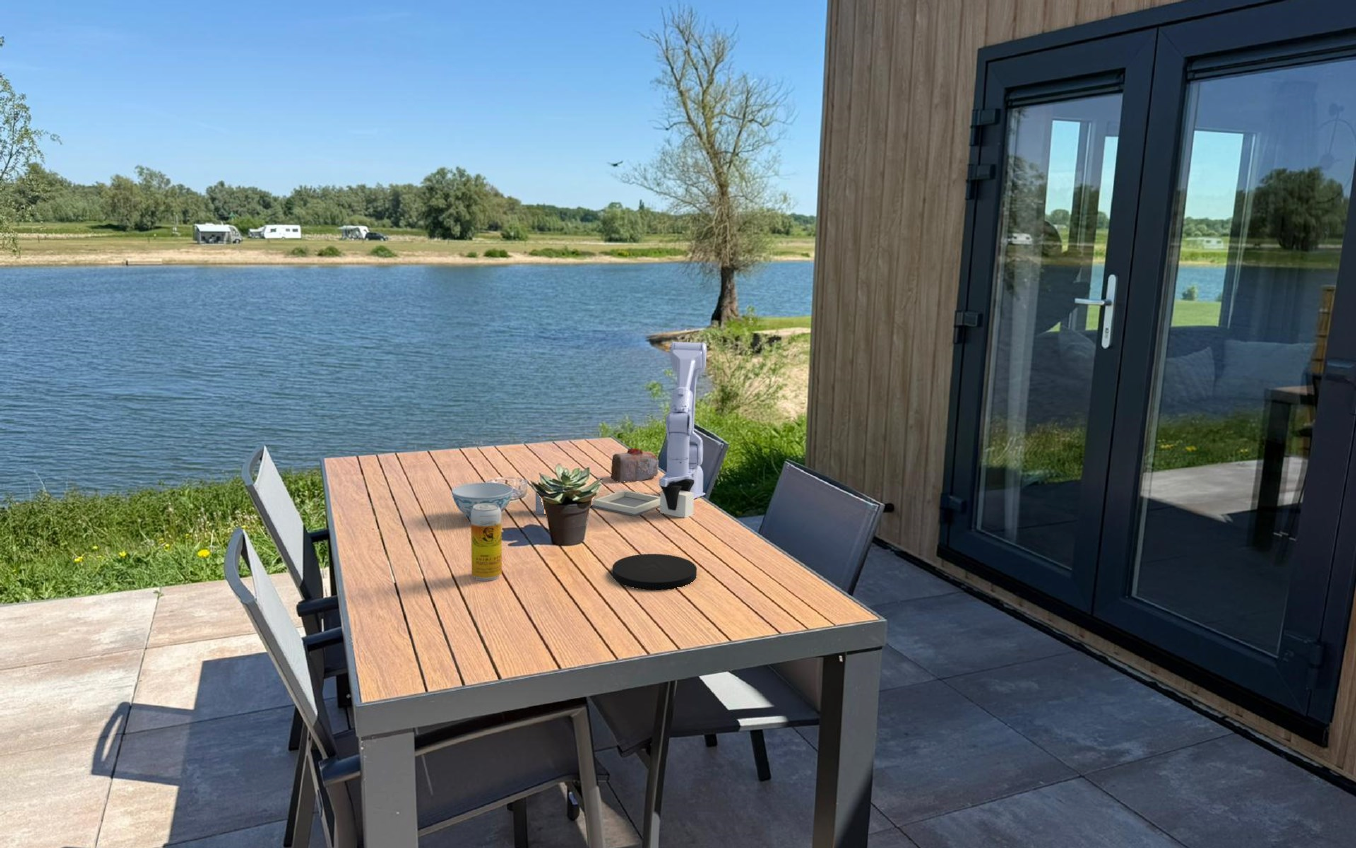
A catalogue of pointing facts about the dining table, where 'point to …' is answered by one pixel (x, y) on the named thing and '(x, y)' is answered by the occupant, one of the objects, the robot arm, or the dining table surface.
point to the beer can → (486, 541)
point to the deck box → (679, 504)
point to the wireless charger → (654, 571)
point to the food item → (634, 466)
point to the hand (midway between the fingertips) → (676, 507)
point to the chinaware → (481, 495)
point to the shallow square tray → (627, 502)
